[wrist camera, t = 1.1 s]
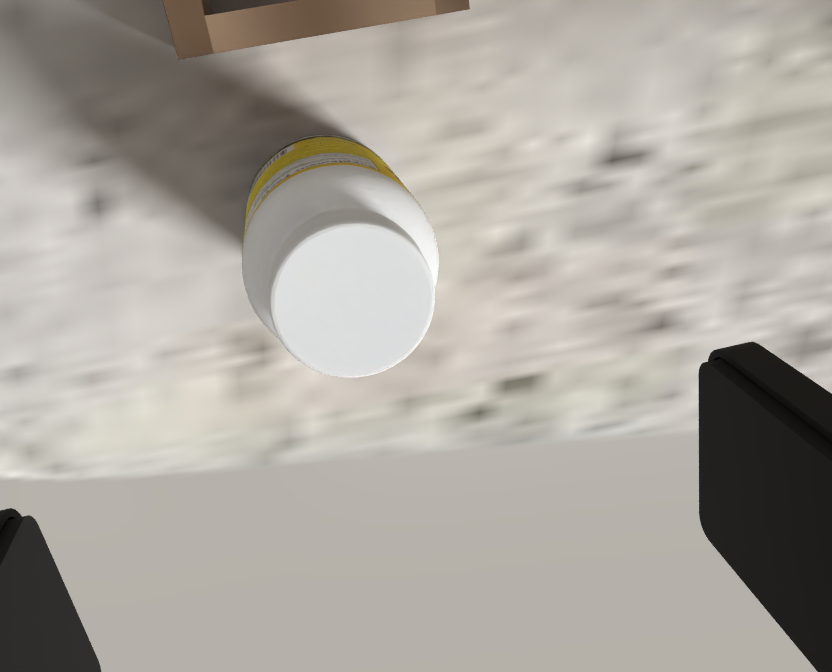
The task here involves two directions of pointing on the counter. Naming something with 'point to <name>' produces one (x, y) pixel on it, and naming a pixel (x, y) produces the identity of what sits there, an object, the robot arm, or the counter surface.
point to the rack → (285, 21)
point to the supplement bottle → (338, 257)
